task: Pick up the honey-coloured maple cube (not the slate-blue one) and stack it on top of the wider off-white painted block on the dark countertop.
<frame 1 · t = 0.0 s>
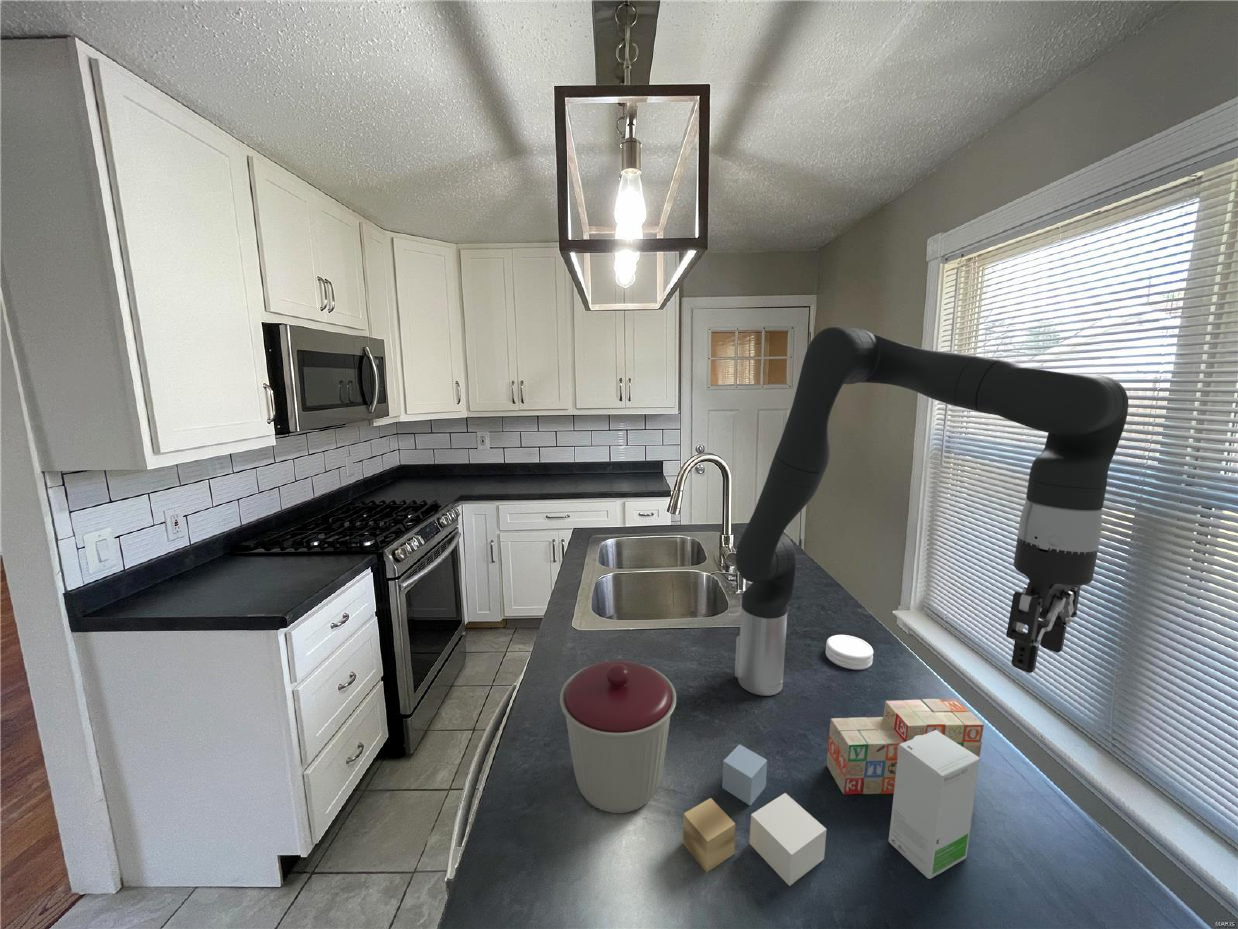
hand: (1037, 659, 64), 29 cm above the countertop, fingers open, 8 cm apart
canister: (618, 786, 81), on the countertop
maple cube: (708, 849, 70), on the countertop
stack of blocks: (897, 779, 82), on the countertop
white thick disc: (848, 659, 117), on the countertop
skincare box: (925, 849, 70), on the countertop
base block: (786, 852, 70), on the countertop
slate cube: (743, 787, 81), on the countertop
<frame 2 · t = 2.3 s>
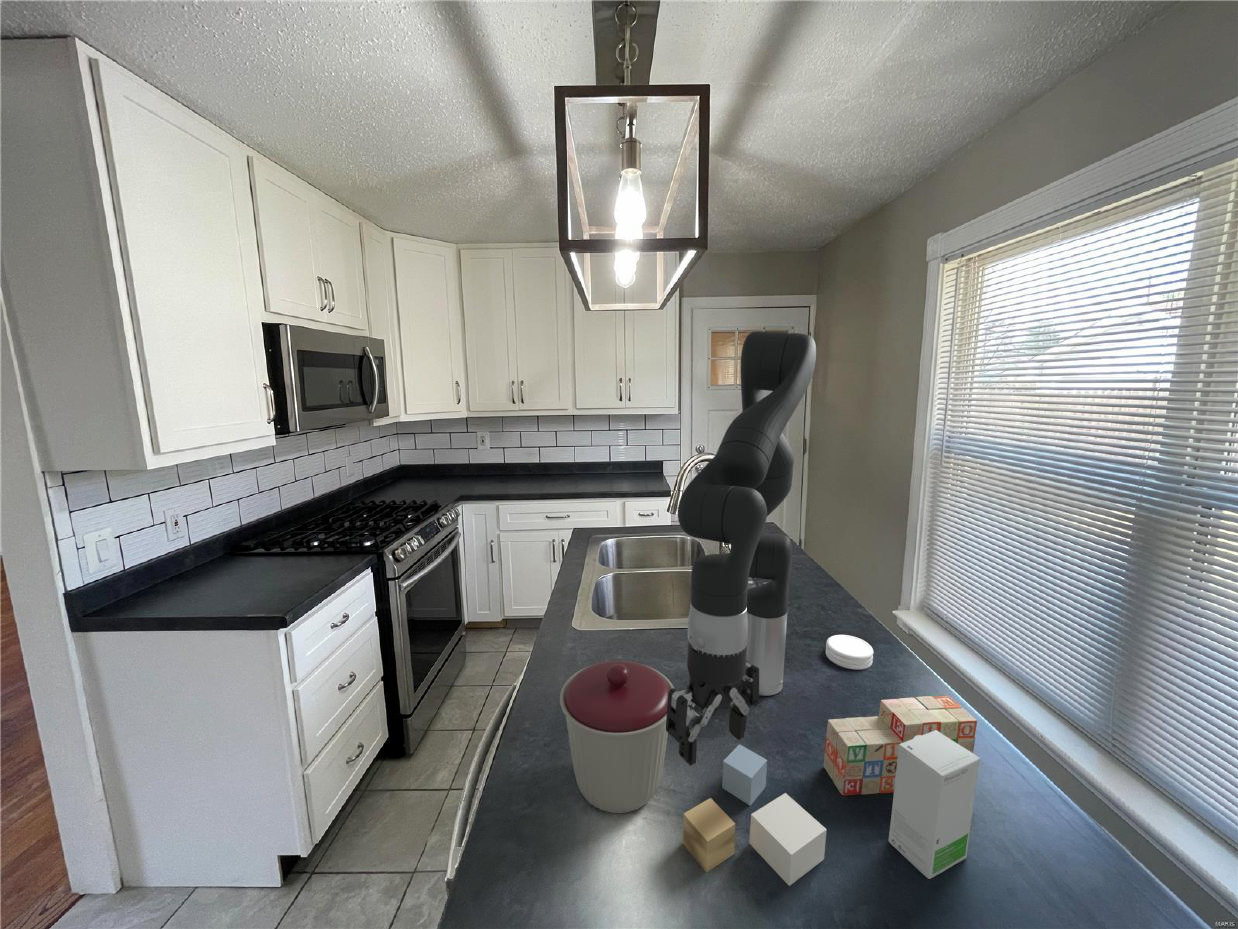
hand: (713, 748, 67), 16 cm above the countertop, fingers open, 8 cm apart
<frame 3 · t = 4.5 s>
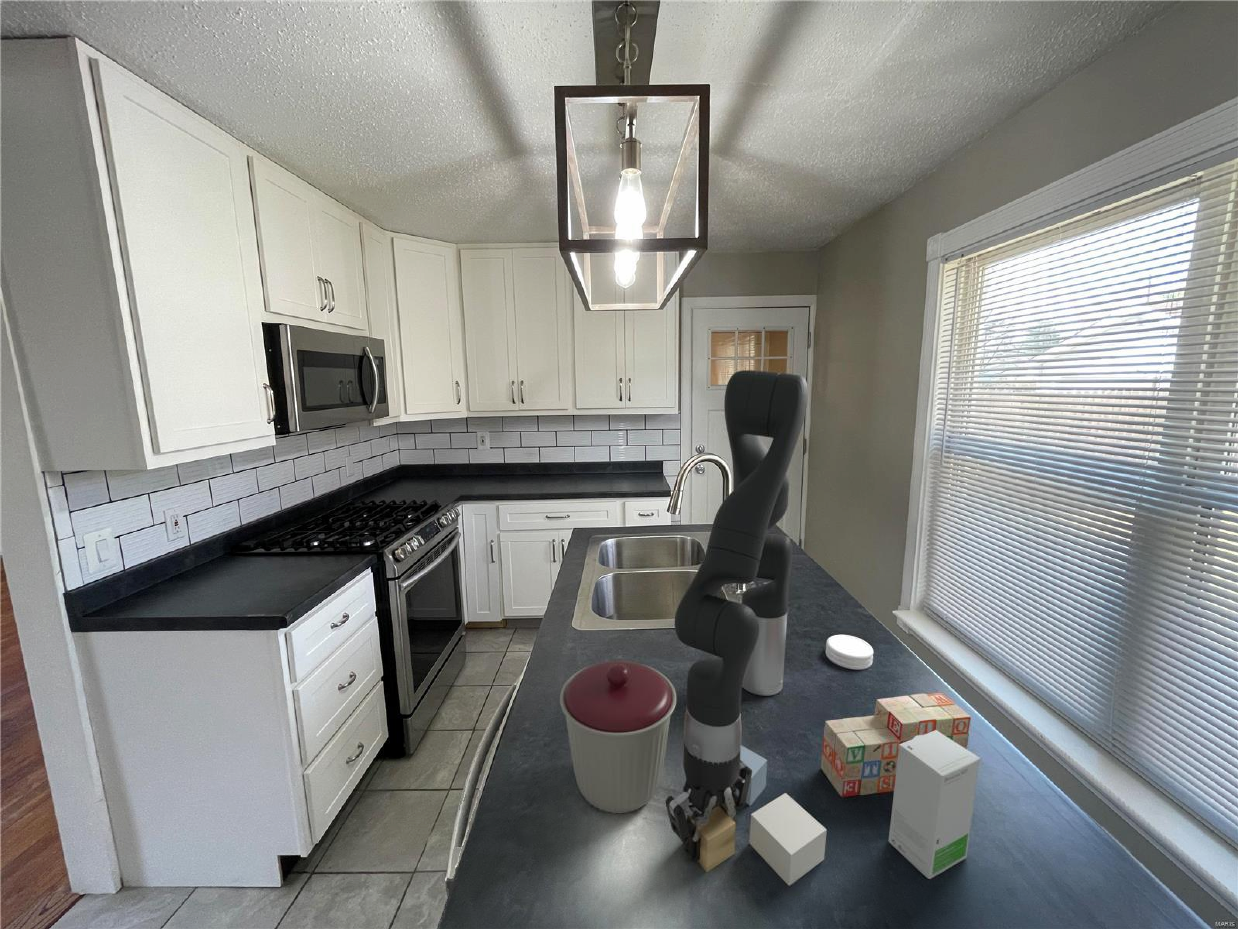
hand: (708, 845, 70), 0 cm above the countertop, fingers closed on maple cube, 5 cm apart
maple cube: (708, 848, 70), on the countertop, touching gripper
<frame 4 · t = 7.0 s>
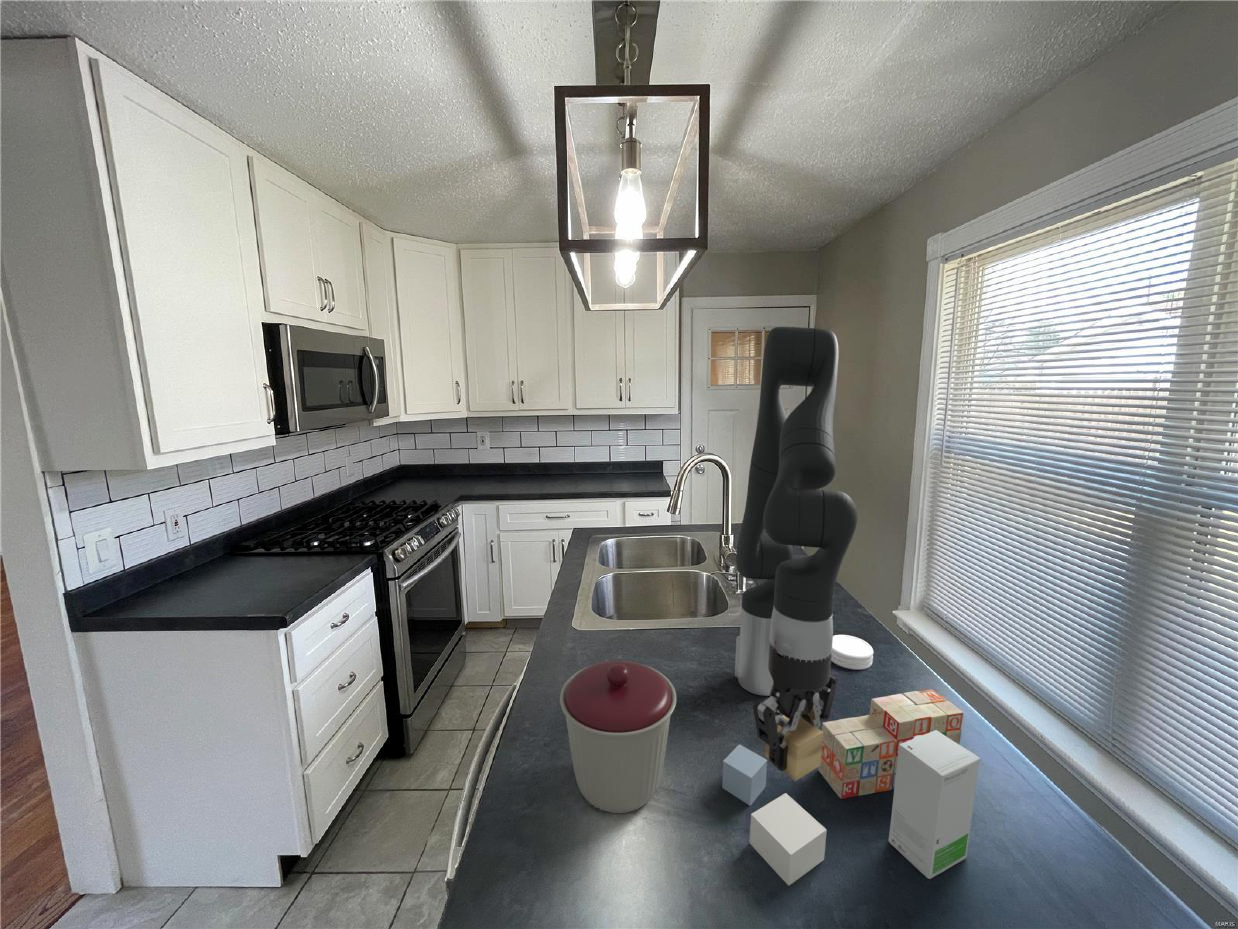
hand: (792, 757, 67), 15 cm above the countertop, fingers closed on maple cube, 5 cm apart
maple cube: (792, 760, 67), point 14 cm above the countertop, touching gripper
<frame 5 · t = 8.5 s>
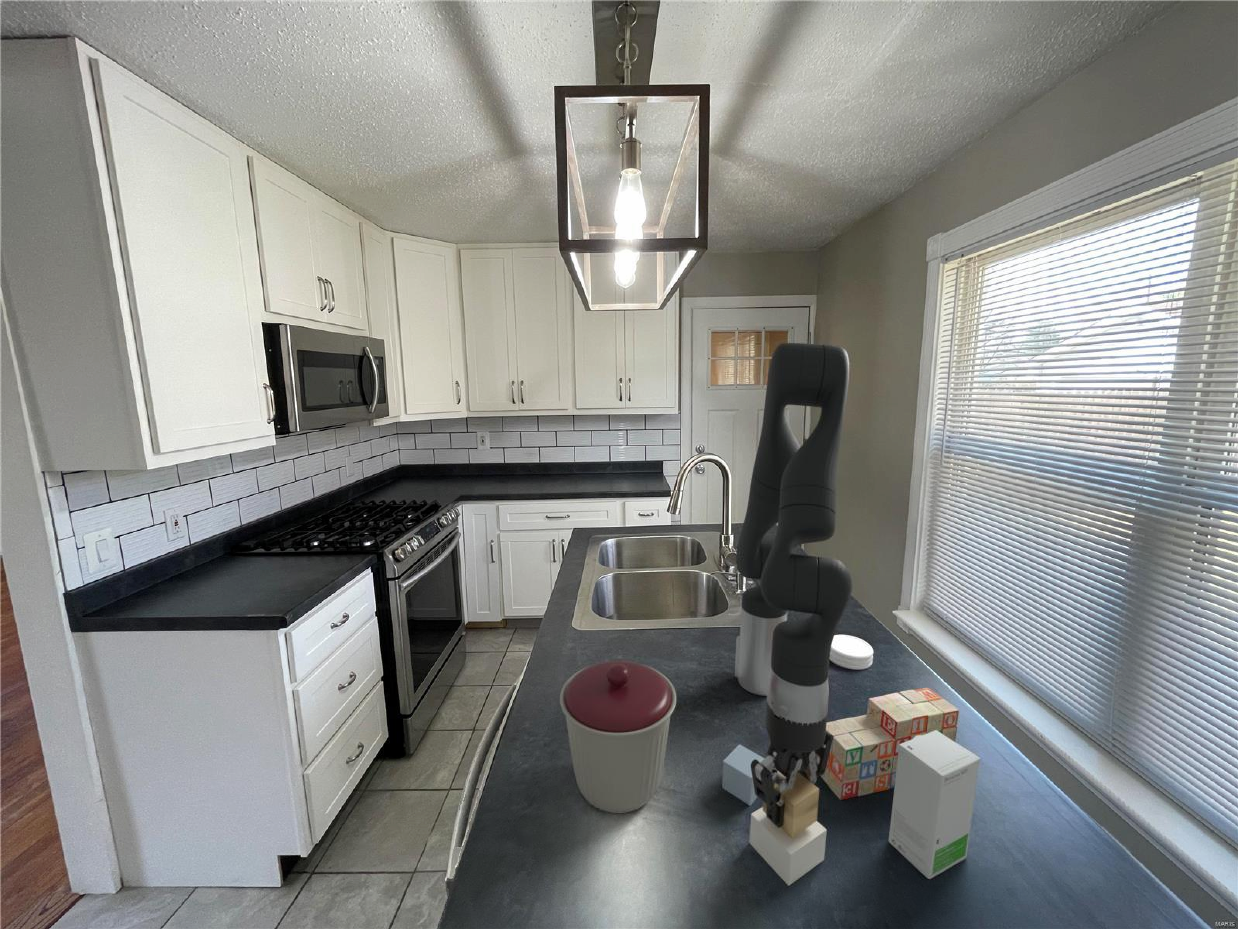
hand: (789, 812, 69), 6 cm above the countertop, fingers closed on maple cube, 5 cm apart
maple cube: (789, 815, 69), point 6 cm above the countertop, touching gripper
when the fingers open (6 cm above the countertop, at t = 9.3 s): maple cube stays where it is, point 5 cm above the countertop.
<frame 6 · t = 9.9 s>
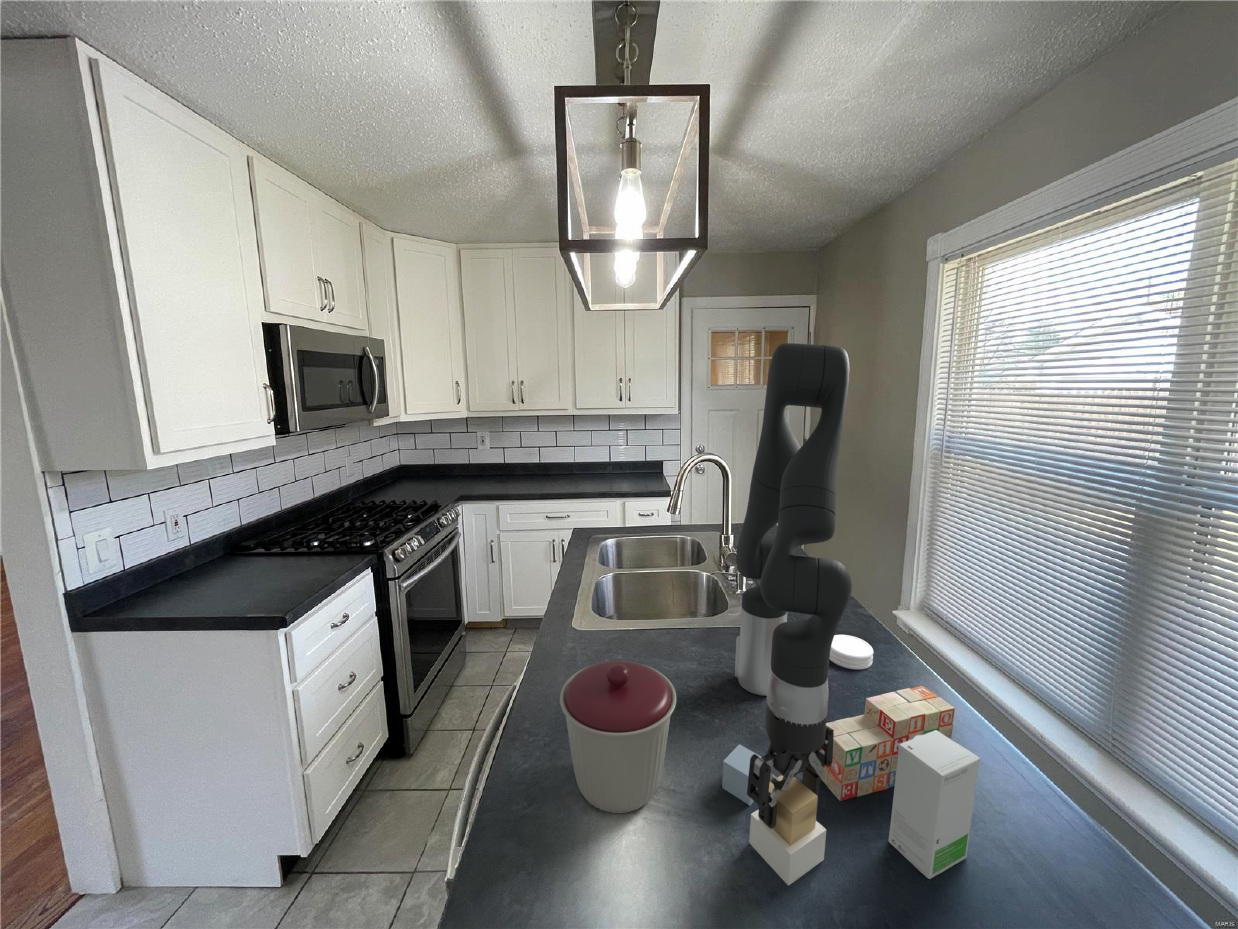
hand: (789, 808, 68), 7 cm above the countertop, fingers open, 8 cm apart
maple cube: (787, 822, 69), point 5 cm above the countertop
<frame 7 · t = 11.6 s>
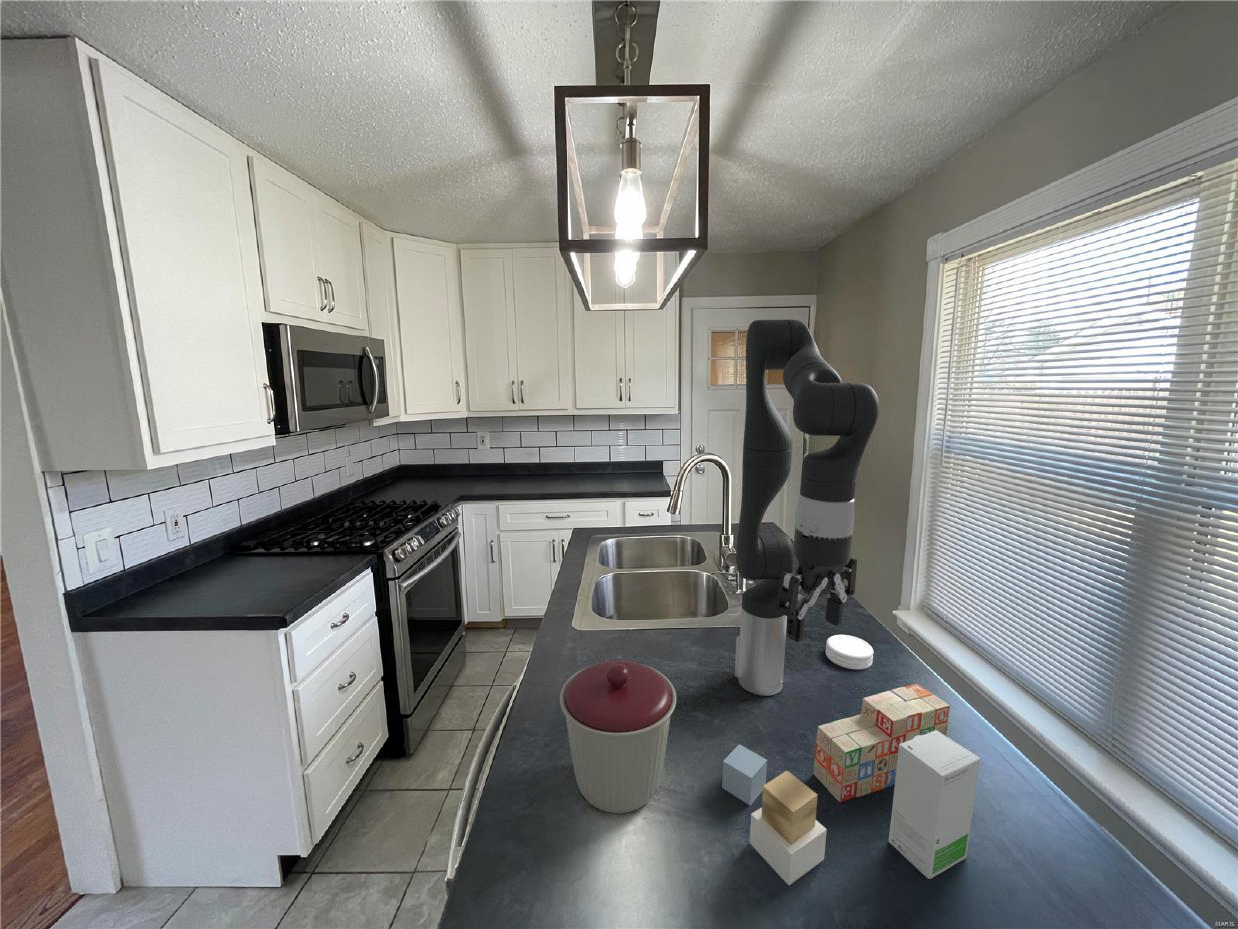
hand: (814, 631, 74), 28 cm above the countertop, fingers open, 8 cm apart
maple cube: (787, 821, 69), point 5 cm above the countertop, touching base block
base block: (786, 852, 70), on the countertop, touching maple cube
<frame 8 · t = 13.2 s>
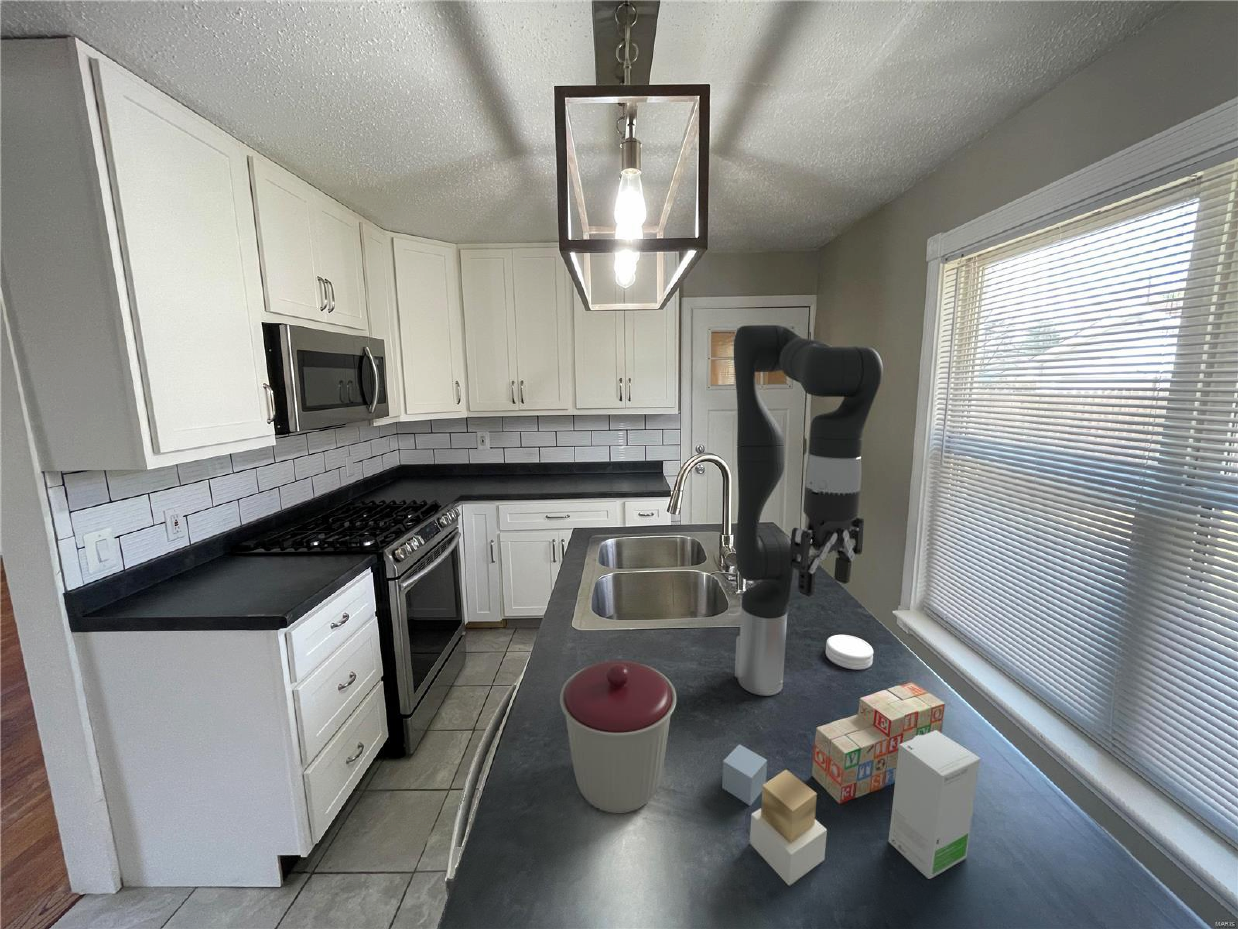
hand: (824, 587, 77), 33 cm above the countertop, fingers open, 8 cm apart
at the end: maple cube 0.2 cm off-centre on the base block, point 5.0 cm above the base block's base; maple cube tilted 0°; the gripper is holding nothing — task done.
